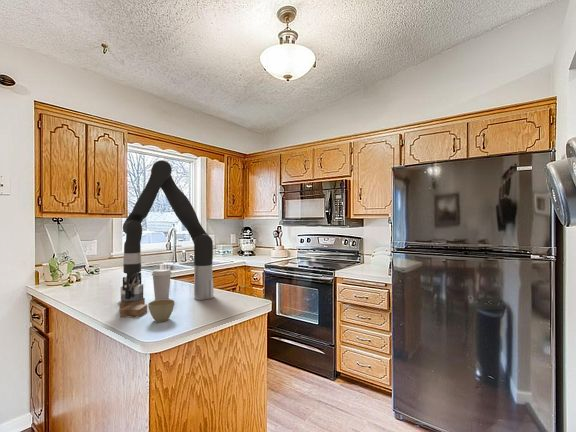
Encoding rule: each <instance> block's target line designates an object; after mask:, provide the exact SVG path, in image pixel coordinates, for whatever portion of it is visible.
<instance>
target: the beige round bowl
mask: <svg viewBox="0 0 576 432" xmlns="http://www.w3.org/2000/svg"><path fill="white" fill-rule="evenodd" d="M174 307H175V300H173V299H164V300H153V301H150V302H148V304H147V308H148V311H149V313H150V316H151V317H152V318H153V320H154V321H155V322H156V323H163V322H166V321H168V320H169V319H170V317H171V315H172V314H173V311H174Z"/></svg>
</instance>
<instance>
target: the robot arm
mask: <svg viewBox="0 0 576 432" xmlns="http://www.w3.org/2000/svg"><path fill="white" fill-rule="evenodd" d="M172 171H173V170H172V165H171V164H170V162H168V161H166V160H163V159H160V160H157V161H155V162H154V163H153V164H152V167H151V168H150V175H149V178H148V181H147V183H146V185H145V187H144V189H143V190H142V192H141V193H140V195H139V197H138V198H137V200H136V202H135V204H134V206H133V208H132V211H131V212H130V213H129V215H128V216H127V218H126V219H125V221H124V223H123V225H122V231H123V232H124V234H126V235H125V236H126V237H125V242H124V244H123V245H124V246H123V257H122V258H123V260H122V261H123V265H122V267H123V270H122V272H123V274H126V276H127V277H126V276H123V277H122V286H123V288H122V290H124V291H125V299H131V288H132V287H133V285H134V283H135V284H142V254H141V250H142V249H141V248H142V247H141V242H142V236H143V235H142V234H143V225H142V223H143V221H144V219H145V218H146V217H148V215H149V213H150V211H151V210H152V207H153V205H154V203H155V200H156V198H157V196H158V193H159V192H160V190H162V192H163V193H164V196H165V197H166V200H167V201H168V203H169V205H170V207H171V209H172V211H173V213H174V214H175V216H176V218H177V219H178V220H179V221H180V223H181V224H182V225H183V227H184V228H185V229H186V230H187V233H188V234H189V236H190V238H191V240H192V242H193V253H194V254H193V257H194V258H193V259H194V260H193V272H194V273H193V274H194V276H193V285H194V287H193V292H194V293H193V295H194V297H193V298H194V300H196V301H201V300H202V301H203V300H204V301H205V300H212V299H213V297H214V278H213V259H214V258H213V257H214V256H213V255H214V245H213V244H214V241H213V239H212V238H211V236H209V234H208V233H207V232H206V231H205V229H204V228H203V226H202V224H201V223H200V220H199V217H198V216H197V212H196V211H195V208H194V207H193V205H192V202H191V201H190V200H189V198H188V196H186V195H185V194H184V192H183V191H182V190H181V189H180V187H179V186H178V185H177V184H176V183H175V181H174V179H173V176H172Z"/></svg>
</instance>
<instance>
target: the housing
mask: <svg viewBox="0 0 576 432" xmlns="http://www.w3.org/2000/svg"><path fill="white" fill-rule="evenodd" d="M120 288H121V292H120V302H137V301H140V300H142V299H143V298H144V283H141V284H135V283H134V285H133V287H132V288H131V299H125V291H124V290H122V288H123V285H122V286H120Z"/></svg>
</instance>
